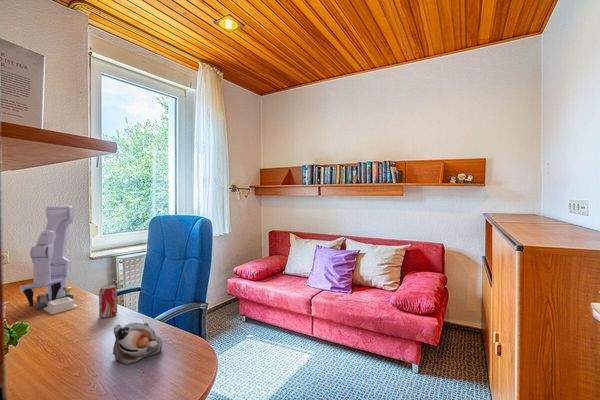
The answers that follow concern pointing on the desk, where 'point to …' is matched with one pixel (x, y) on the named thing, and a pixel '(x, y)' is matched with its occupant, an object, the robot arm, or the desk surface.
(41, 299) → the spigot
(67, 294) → the lock pin
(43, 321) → the desk surface
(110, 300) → the beverage can
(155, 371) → the desk surface
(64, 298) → the dock
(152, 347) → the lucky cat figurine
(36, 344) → the desk surface
